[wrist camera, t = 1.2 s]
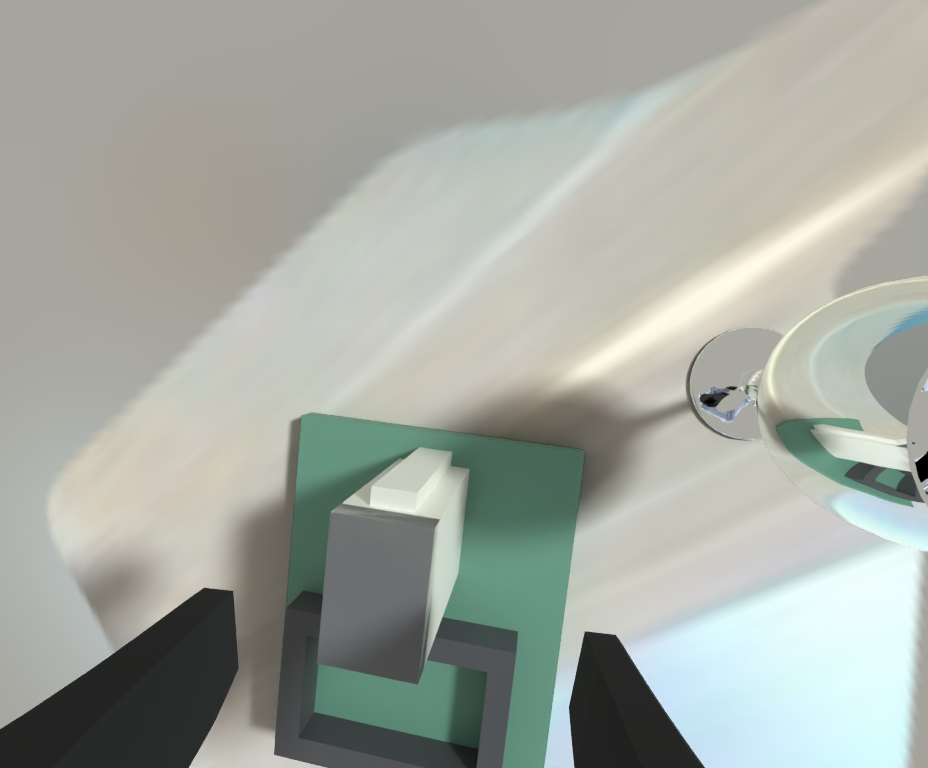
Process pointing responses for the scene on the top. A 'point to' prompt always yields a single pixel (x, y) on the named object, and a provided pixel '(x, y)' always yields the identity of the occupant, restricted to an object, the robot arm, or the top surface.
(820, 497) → the wineglass
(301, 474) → the circuit board
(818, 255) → the top surface
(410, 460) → the plug
